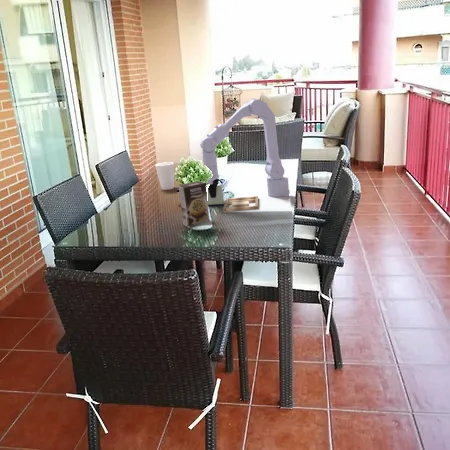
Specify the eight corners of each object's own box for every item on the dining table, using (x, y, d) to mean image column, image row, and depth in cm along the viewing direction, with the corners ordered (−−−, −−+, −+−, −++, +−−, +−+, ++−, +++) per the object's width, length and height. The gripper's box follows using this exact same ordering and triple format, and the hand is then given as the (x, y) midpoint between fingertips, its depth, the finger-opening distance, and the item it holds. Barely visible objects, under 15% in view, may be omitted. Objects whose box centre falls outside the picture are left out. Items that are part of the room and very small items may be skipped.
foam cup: (155, 190, 250) (151, 165, 246) (164, 186, 258) (160, 162, 254) (171, 190, 246) (168, 165, 242) (179, 186, 254) (176, 161, 250)
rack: (258, 201, 210) (257, 196, 209) (258, 212, 195) (257, 206, 194) (226, 203, 211) (226, 198, 211) (223, 214, 196) (223, 208, 196)
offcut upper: (248, 205, 200) (248, 200, 200) (249, 208, 197) (248, 203, 196) (232, 207, 201) (231, 202, 200) (232, 209, 197) (231, 205, 196)
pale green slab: (224, 205, 210) (222, 185, 207) (223, 206, 208) (221, 186, 205) (206, 206, 211) (203, 186, 208) (205, 207, 209) (203, 187, 206)
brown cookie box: (189, 228, 183) (184, 187, 178) (182, 224, 189) (177, 184, 184) (210, 223, 187) (206, 182, 182) (203, 219, 193) (199, 180, 188)
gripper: (203, 163, 211) (206, 193, 215) (198, 170, 197) (202, 201, 201) (219, 162, 210) (222, 192, 214) (215, 168, 197) (219, 200, 201)
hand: (213, 196), depth 208 cm, fingers closed on pale green slab, 2 cm apart
